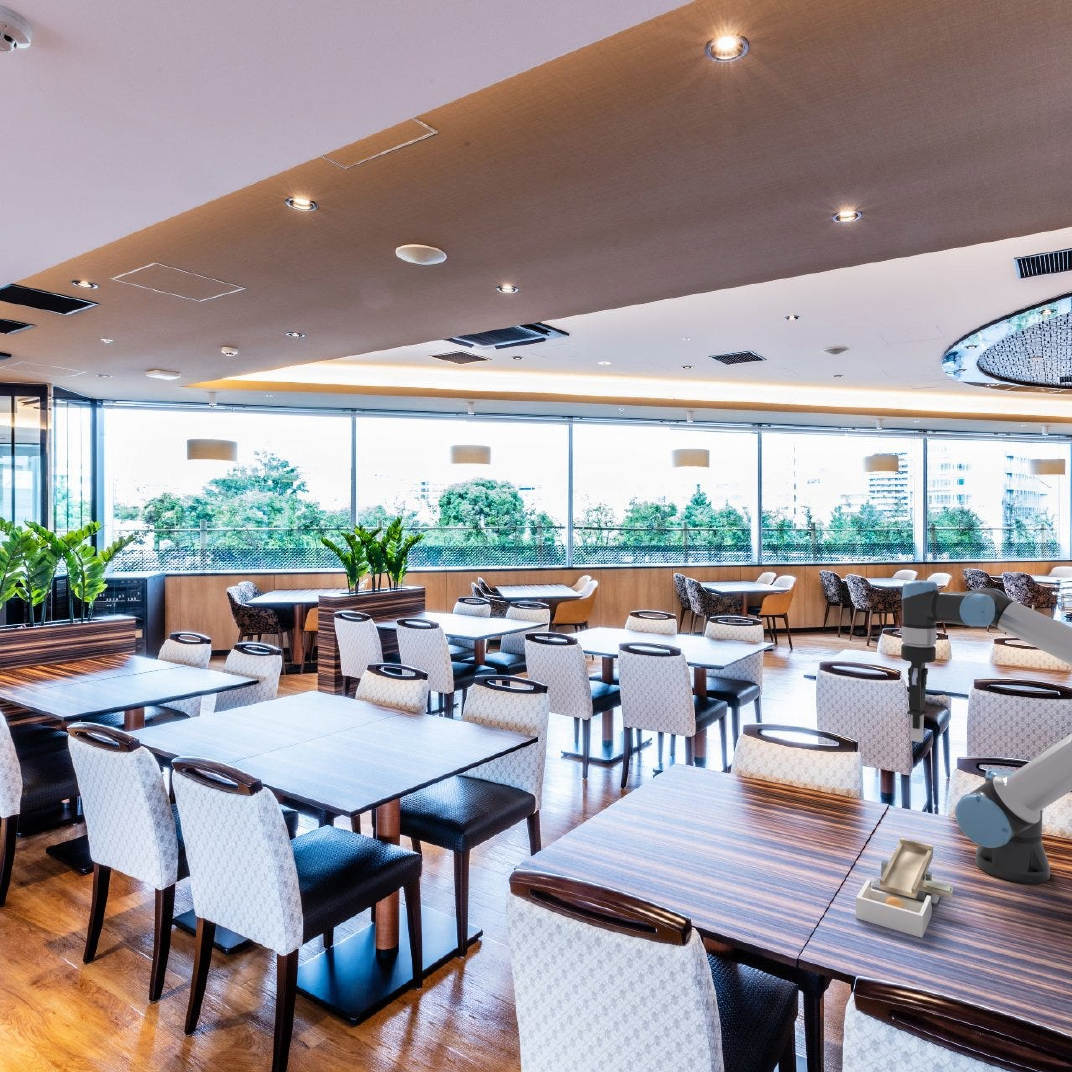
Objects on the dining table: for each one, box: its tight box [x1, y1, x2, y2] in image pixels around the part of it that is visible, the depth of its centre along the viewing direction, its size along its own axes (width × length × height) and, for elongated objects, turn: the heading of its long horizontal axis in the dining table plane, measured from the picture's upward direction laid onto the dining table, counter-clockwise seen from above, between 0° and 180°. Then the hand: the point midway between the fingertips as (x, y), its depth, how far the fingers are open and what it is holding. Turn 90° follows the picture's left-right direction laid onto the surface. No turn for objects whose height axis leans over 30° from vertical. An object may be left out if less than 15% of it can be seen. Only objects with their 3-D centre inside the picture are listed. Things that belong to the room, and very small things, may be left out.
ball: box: [885, 897, 903, 909], centre depth 161 cm, size 4×4×4 cm
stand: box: [871, 859, 941, 907], centre depth 171 cm, size 13×5×6 cm, turn 54°
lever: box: [880, 837, 954, 899], centre depth 170 cm, size 13×21×3 cm, turn 144°
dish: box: [855, 878, 933, 939], centre depth 161 cm, size 13×11×4 cm
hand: (916, 740), depth 186 cm, fingers closed
